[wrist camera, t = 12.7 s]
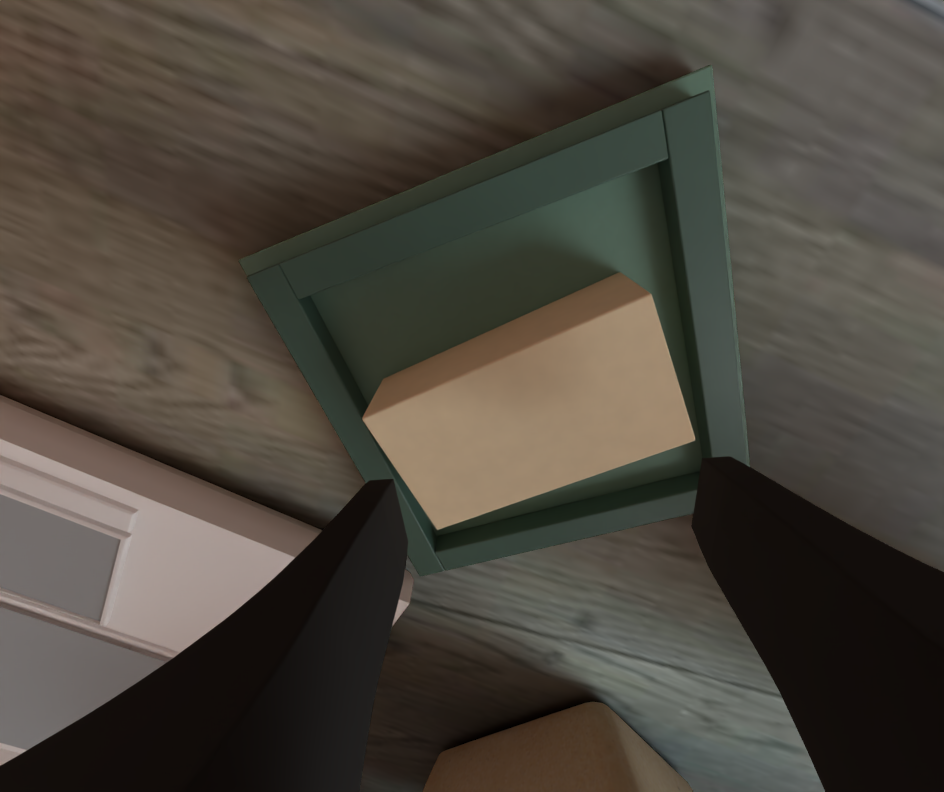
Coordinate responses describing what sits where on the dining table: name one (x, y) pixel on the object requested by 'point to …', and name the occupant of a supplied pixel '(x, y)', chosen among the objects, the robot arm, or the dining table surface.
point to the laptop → (113, 568)
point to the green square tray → (529, 299)
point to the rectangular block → (533, 404)
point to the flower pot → (557, 758)
